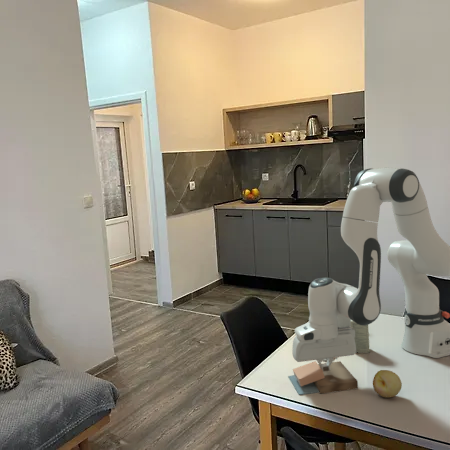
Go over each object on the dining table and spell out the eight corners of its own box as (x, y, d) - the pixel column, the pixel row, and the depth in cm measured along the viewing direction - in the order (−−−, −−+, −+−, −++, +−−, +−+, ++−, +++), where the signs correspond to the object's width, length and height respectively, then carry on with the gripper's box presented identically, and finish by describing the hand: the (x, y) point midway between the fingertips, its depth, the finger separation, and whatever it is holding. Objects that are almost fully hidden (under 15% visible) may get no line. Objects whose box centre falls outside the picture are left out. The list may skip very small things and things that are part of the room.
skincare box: (369, 348, 168) (368, 316, 166) (369, 353, 163) (368, 321, 161) (351, 347, 169) (350, 316, 167) (351, 352, 165) (350, 320, 163)
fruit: (368, 392, 138) (367, 368, 136) (392, 387, 139) (392, 363, 138) (382, 405, 130) (381, 379, 129) (407, 400, 132) (407, 374, 131)
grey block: (351, 336, 179) (350, 312, 178) (334, 335, 181) (333, 311, 180) (352, 332, 183) (351, 309, 181) (335, 331, 185) (334, 308, 183)
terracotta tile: (317, 367, 149) (315, 361, 149) (324, 377, 142) (322, 370, 142) (294, 376, 148) (292, 369, 148) (301, 386, 141) (298, 379, 141)
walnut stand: (340, 368, 154) (340, 361, 154) (357, 388, 140) (357, 381, 140) (306, 372, 153) (306, 365, 152) (320, 393, 139) (320, 386, 139)
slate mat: (310, 373, 152) (310, 373, 152) (322, 391, 140) (322, 390, 140) (288, 376, 151) (288, 376, 151) (299, 395, 139) (298, 394, 139)
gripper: (350, 322, 148) (351, 361, 150) (289, 329, 145) (291, 369, 147) (358, 329, 142) (360, 370, 144) (295, 336, 139) (297, 379, 141)
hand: (325, 370), depth 145 cm, fingers closed
